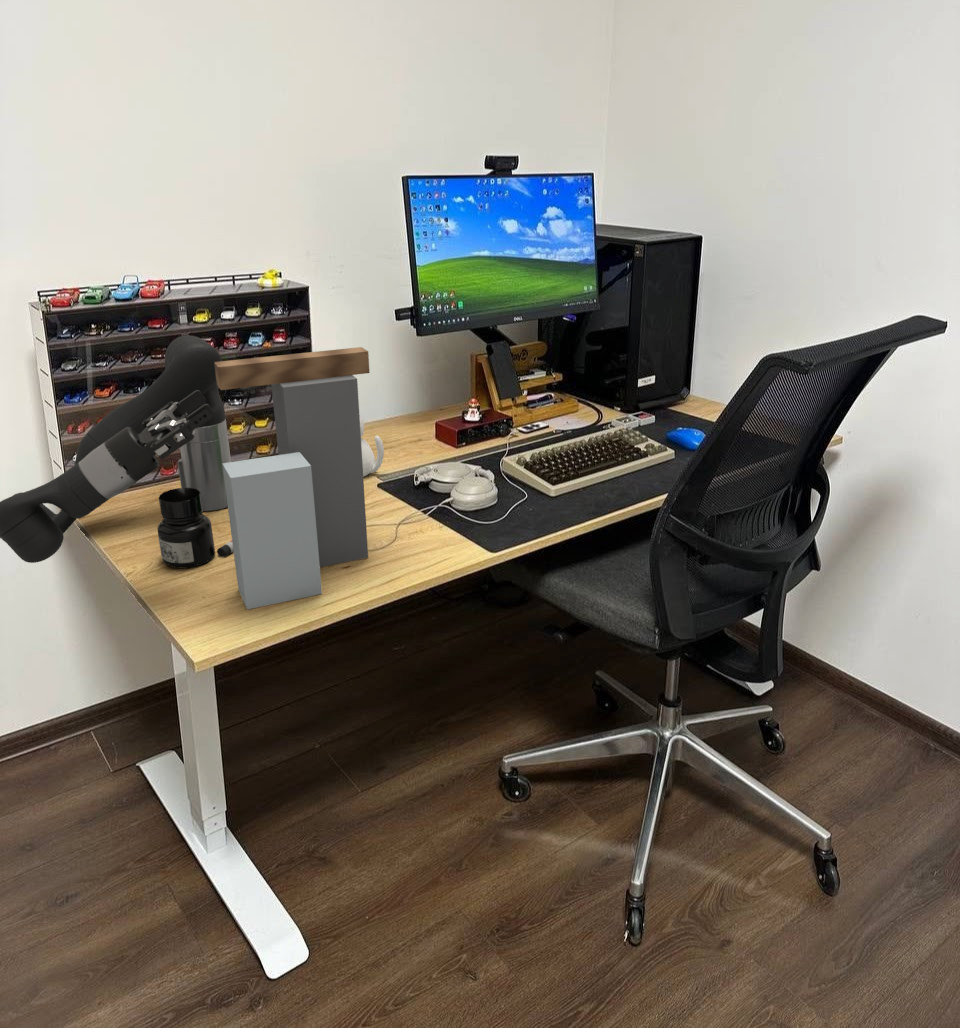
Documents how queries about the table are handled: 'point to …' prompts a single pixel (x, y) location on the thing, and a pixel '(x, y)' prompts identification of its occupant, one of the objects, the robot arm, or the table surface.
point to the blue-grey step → (273, 528)
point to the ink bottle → (184, 529)
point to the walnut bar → (291, 368)
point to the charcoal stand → (327, 458)
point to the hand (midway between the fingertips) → (206, 401)
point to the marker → (225, 549)
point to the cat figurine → (370, 453)
